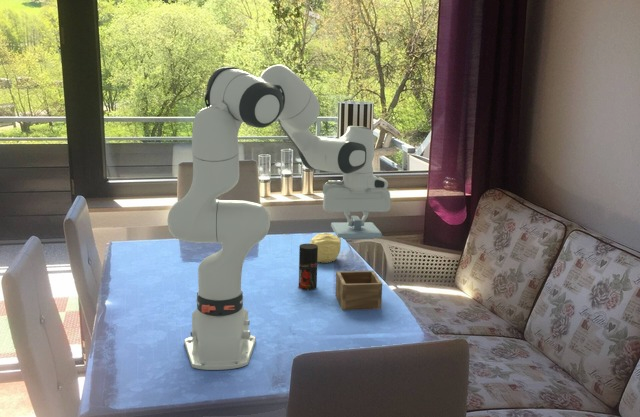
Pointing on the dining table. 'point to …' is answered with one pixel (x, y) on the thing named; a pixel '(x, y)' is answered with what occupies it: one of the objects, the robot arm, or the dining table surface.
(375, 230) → the lid
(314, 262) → the deodorant
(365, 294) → the box
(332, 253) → the sculpture
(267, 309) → the dining table surface
